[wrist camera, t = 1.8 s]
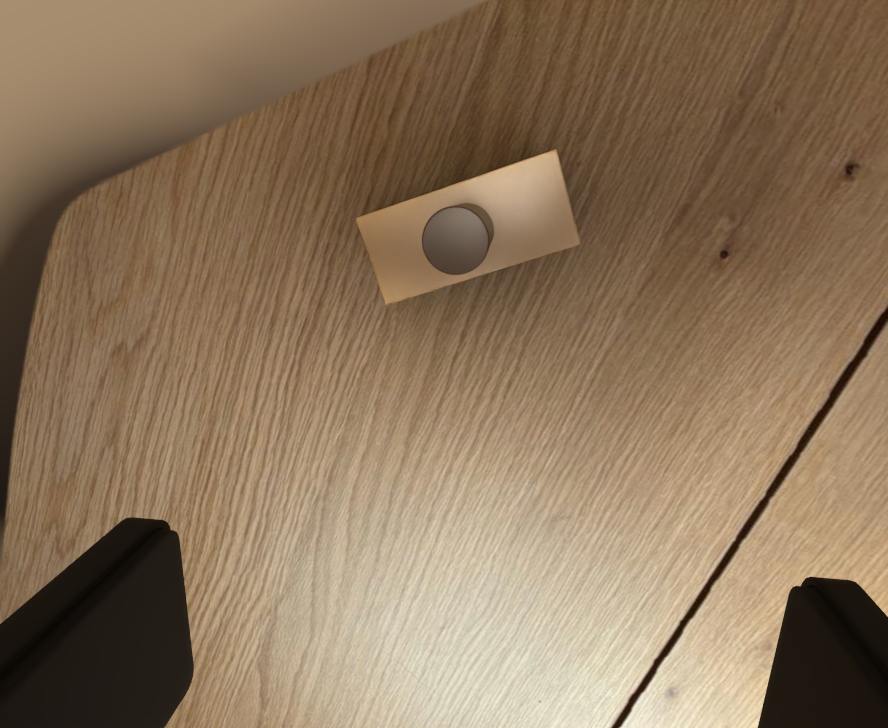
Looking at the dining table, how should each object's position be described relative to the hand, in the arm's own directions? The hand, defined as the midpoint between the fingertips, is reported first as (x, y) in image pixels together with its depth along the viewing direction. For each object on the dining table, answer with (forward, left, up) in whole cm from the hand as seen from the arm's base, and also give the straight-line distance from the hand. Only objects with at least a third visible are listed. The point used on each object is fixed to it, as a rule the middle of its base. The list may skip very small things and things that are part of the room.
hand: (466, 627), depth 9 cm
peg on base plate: (0, -5, -24) cm, 25 cm away
